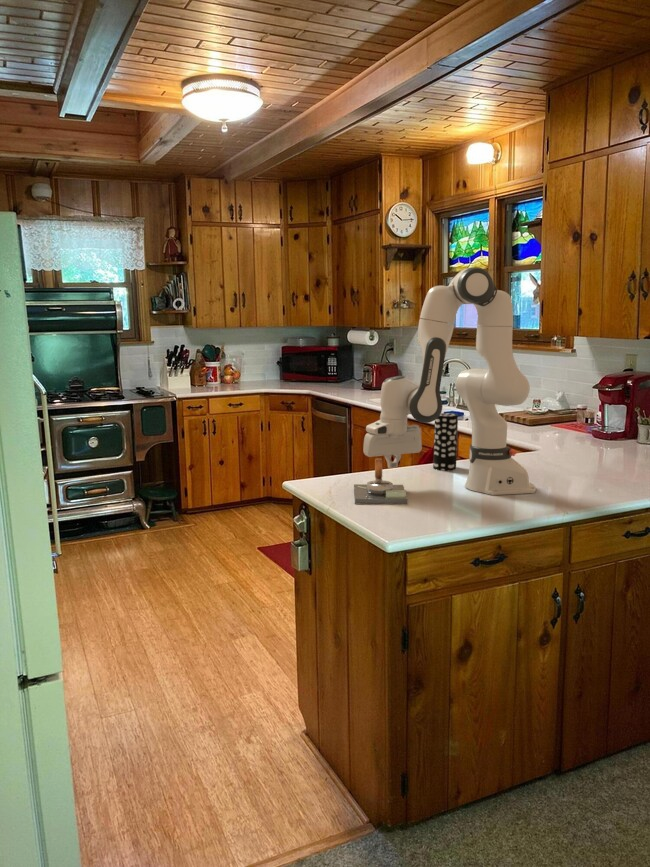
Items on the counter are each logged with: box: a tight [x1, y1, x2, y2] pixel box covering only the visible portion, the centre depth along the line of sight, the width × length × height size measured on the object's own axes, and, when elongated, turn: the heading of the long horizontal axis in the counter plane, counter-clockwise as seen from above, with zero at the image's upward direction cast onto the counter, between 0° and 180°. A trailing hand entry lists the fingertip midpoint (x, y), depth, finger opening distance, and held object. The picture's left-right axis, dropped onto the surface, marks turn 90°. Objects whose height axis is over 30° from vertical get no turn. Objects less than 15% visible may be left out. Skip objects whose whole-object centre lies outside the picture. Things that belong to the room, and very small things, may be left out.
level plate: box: [353, 483, 409, 505], centre depth 220 cm, size 16×17×3 cm
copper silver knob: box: [366, 458, 394, 495], centre depth 222 cm, size 8×13×8 cm, turn 179°
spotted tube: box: [432, 412, 459, 472], centre depth 256 cm, size 8×8×20 cm
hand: (392, 467), depth 229 cm, fingers closed
